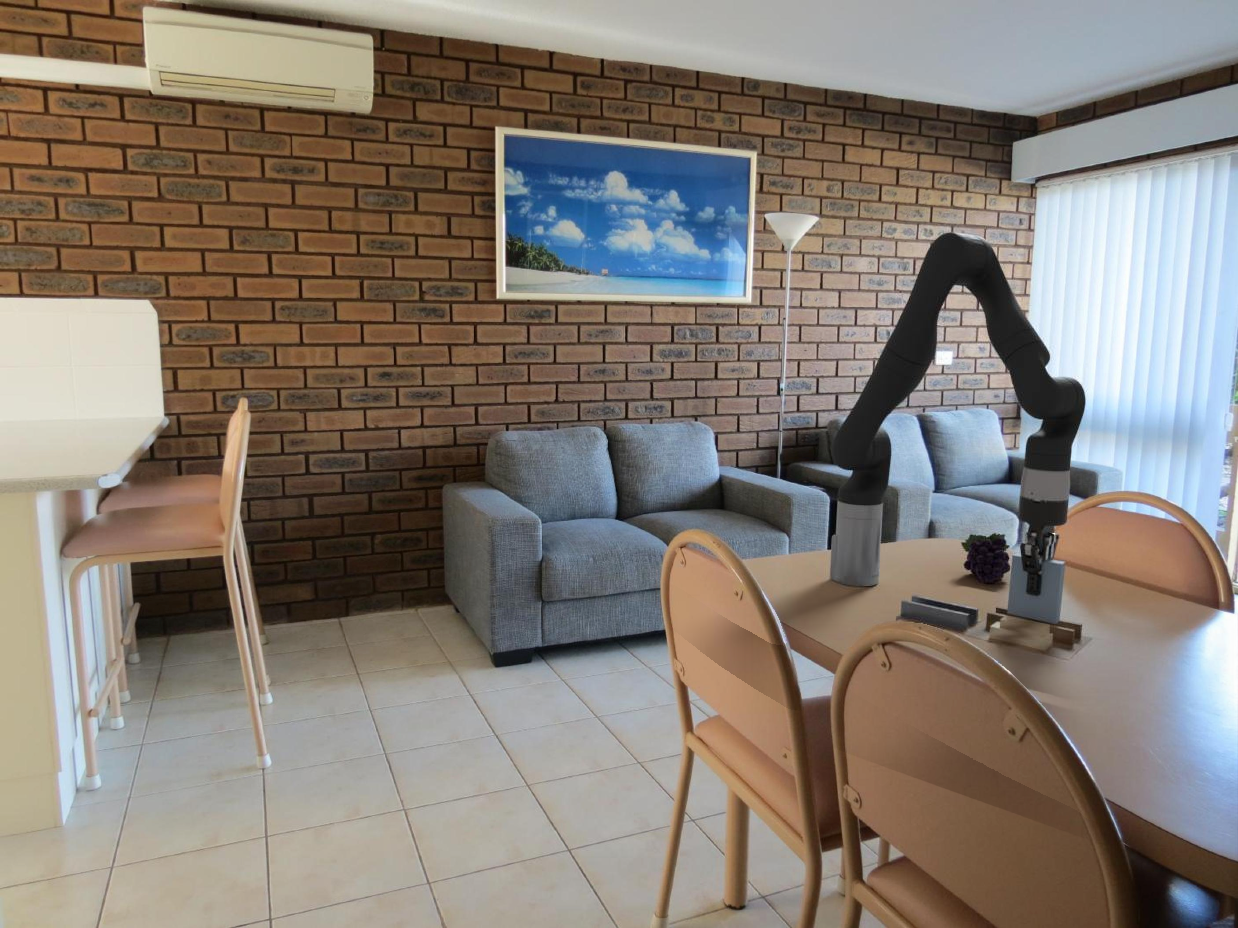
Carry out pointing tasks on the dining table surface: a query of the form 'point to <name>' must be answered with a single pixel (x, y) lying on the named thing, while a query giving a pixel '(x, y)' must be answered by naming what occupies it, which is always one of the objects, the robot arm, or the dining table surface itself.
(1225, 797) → the dining table surface
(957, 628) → the stand
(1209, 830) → the dining table surface
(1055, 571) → the tall sheet
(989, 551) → the fruit
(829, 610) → the dining table surface
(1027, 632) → the offcut stack
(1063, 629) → the offcut rack
